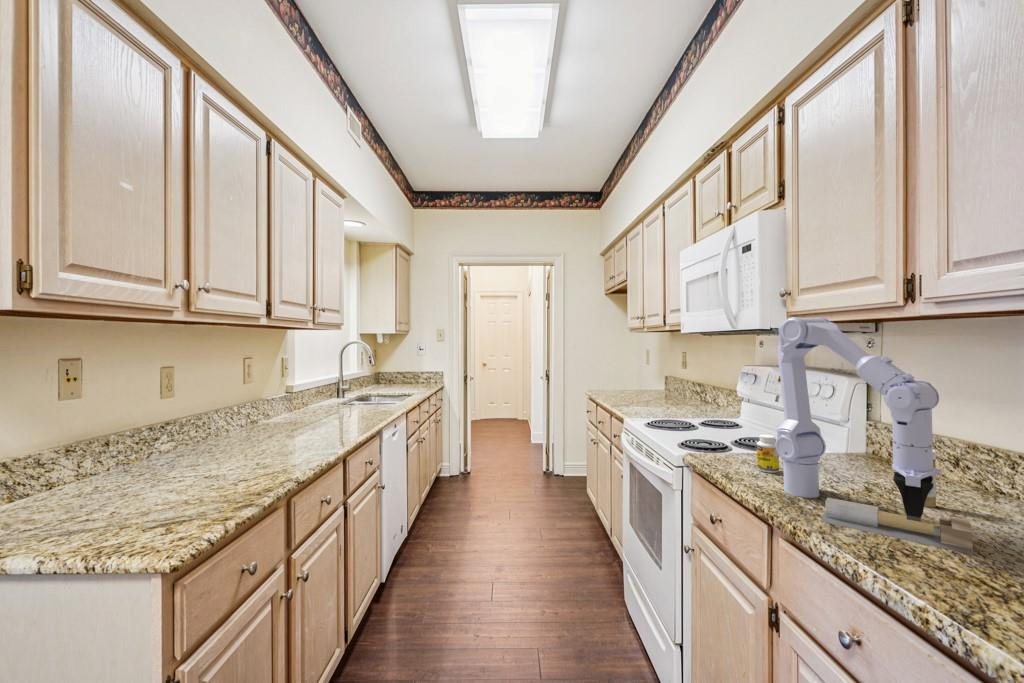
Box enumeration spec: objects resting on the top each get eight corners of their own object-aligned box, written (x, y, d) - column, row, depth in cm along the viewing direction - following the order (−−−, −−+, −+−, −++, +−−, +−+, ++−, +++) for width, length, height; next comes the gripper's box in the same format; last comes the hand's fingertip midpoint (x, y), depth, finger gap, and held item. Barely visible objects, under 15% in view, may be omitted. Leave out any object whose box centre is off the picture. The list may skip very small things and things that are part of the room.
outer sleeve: (827, 512, 95) (827, 497, 95) (878, 522, 89) (878, 506, 89) (825, 516, 93) (825, 501, 93) (877, 527, 87) (877, 511, 87)
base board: (827, 511, 98) (827, 506, 98) (968, 539, 83) (968, 534, 83) (820, 526, 90) (820, 521, 90) (974, 560, 76) (974, 554, 76)
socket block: (939, 533, 84) (939, 514, 84) (969, 539, 81) (969, 520, 81) (941, 542, 80) (940, 523, 80) (972, 549, 77) (972, 529, 77)
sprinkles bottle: (909, 502, 101) (908, 445, 101) (937, 507, 98) (936, 448, 98) (909, 508, 98) (908, 449, 98) (937, 514, 95) (936, 452, 95)
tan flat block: (851, 514, 92) (850, 482, 92) (933, 531, 83) (932, 495, 83) (850, 517, 90) (849, 484, 90) (933, 535, 82) (932, 498, 82)
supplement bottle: (753, 469, 129) (752, 435, 129) (765, 466, 131) (764, 433, 131) (771, 474, 124) (770, 438, 124) (783, 471, 126) (782, 436, 126)
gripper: (943, 455, 76) (944, 532, 76) (939, 439, 87) (940, 507, 87) (890, 449, 81) (891, 521, 81) (892, 435, 92) (893, 499, 92)
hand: (913, 513), depth 84 cm, fingers closed on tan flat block, 2 cm apart
